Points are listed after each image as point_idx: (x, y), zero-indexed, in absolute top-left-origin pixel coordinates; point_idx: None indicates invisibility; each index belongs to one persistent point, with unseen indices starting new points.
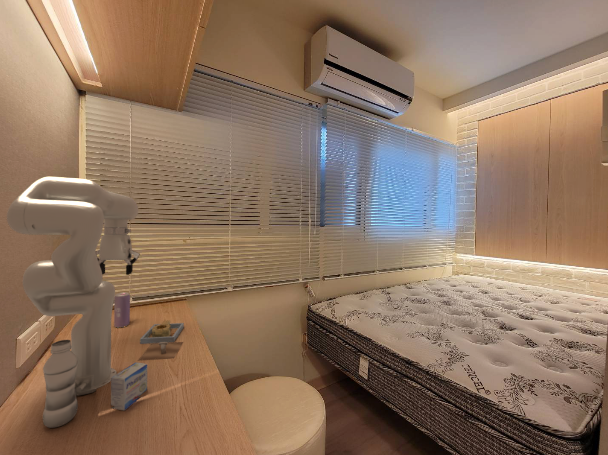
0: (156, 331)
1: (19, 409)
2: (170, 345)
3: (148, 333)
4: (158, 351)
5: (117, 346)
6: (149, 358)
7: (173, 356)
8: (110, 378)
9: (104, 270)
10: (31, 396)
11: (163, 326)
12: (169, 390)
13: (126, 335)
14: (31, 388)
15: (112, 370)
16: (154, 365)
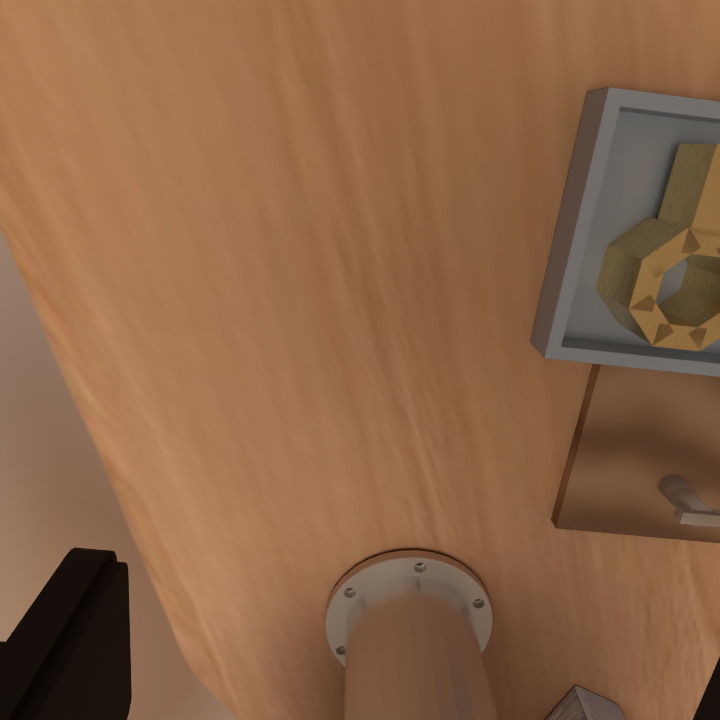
0: (656, 344)
1: (251, 697)
2: (708, 408)
3: (579, 254)
4: (645, 462)
5: (399, 312)
6: (607, 521)
7: (718, 527)
8: (480, 639)
9: (92, 657)
10: (240, 646)
11: (702, 254)
12: (688, 706)
13: (403, 139)
14: (205, 604)
15: (469, 590)
16: (627, 551)
